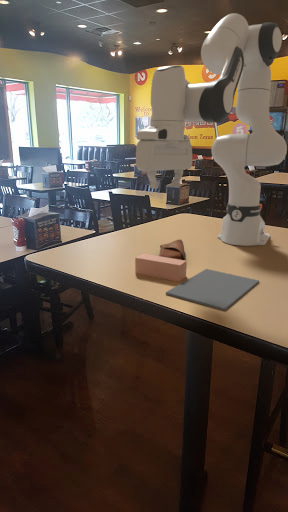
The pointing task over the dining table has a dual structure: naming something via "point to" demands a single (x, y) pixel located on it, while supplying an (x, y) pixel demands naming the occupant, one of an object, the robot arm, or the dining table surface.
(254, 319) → the dining table surface
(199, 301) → the mat
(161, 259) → the pink rectangular brick
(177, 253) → the sunglasses case
